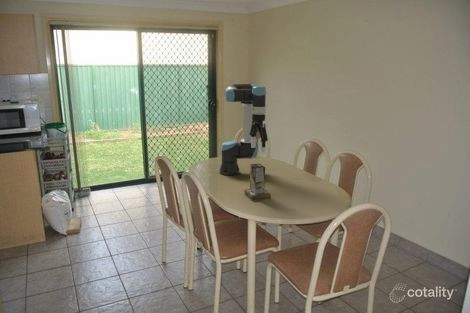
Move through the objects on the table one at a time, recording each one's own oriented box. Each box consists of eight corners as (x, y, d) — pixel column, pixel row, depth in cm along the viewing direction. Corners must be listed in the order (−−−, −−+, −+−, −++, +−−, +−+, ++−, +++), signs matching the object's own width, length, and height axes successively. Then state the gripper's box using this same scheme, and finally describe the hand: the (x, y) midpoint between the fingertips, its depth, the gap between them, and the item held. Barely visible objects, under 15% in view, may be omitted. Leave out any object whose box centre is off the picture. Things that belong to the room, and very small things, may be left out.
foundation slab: (244, 194, 217) (244, 189, 216) (262, 191, 221) (262, 187, 221) (252, 200, 206) (252, 195, 206) (270, 198, 210) (270, 193, 210)
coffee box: (265, 193, 210) (265, 167, 206) (255, 194, 208) (255, 168, 204) (258, 188, 219) (259, 163, 215) (249, 189, 216) (249, 164, 213)
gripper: (244, 111, 212) (244, 146, 217) (261, 116, 189) (261, 155, 195) (255, 111, 215) (255, 145, 220) (274, 116, 192) (273, 154, 197)
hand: (258, 150), depth 207 cm, fingers open, 13 cm apart
